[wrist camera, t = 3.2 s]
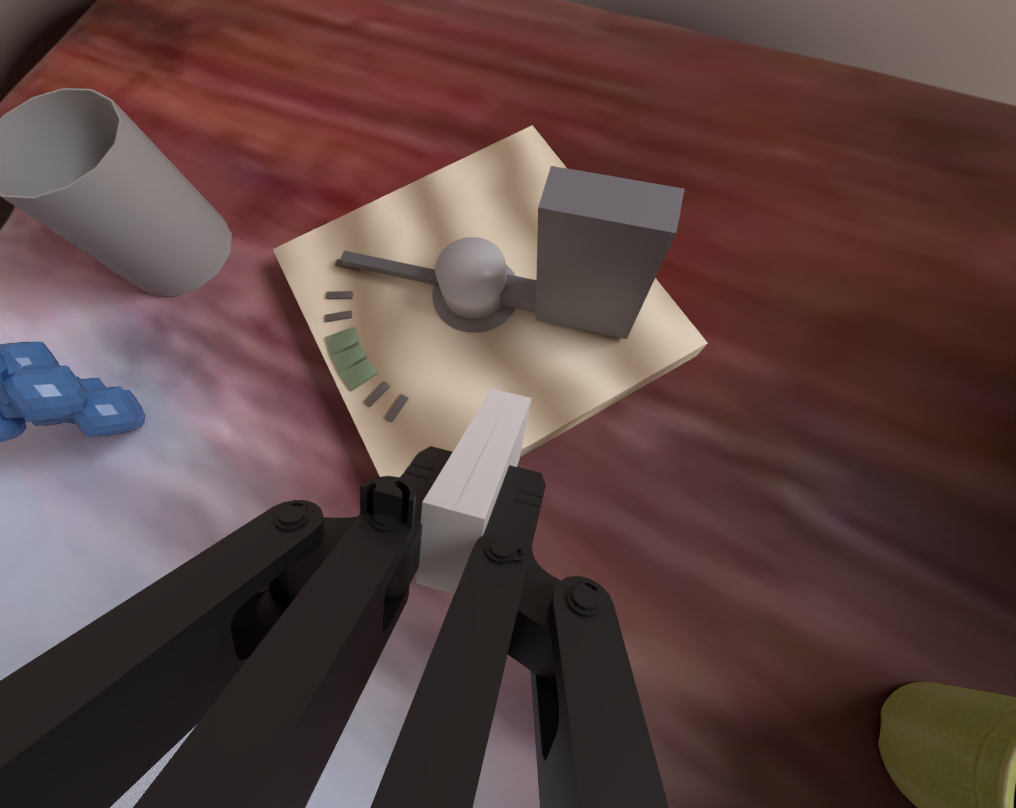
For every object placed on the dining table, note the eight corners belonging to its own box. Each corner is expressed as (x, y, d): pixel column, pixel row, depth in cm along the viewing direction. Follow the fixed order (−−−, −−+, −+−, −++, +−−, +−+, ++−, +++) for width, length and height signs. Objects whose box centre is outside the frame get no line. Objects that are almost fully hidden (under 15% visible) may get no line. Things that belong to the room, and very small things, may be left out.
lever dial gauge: (334, 288, 30) (245, 170, 21) (357, 236, 32) (283, 103, 22) (623, 353, 28) (672, 252, 18) (636, 294, 29) (687, 171, 20)
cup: (252, 234, 35) (150, 119, 26) (180, 314, 33) (40, 220, 24) (178, 194, 37) (56, 71, 27) (106, 267, 35) (-53, 161, 25)
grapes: (4, 437, 31) (-306, 372, 19) (65, 353, 33) (-186, 249, 21) (139, 495, 29) (-115, 462, 18) (195, 404, 31) (-2, 319, 19)
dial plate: (532, 147, 36) (532, 123, 34) (696, 356, 30) (708, 341, 28) (287, 266, 34) (271, 247, 32) (409, 521, 28) (398, 519, 25)
